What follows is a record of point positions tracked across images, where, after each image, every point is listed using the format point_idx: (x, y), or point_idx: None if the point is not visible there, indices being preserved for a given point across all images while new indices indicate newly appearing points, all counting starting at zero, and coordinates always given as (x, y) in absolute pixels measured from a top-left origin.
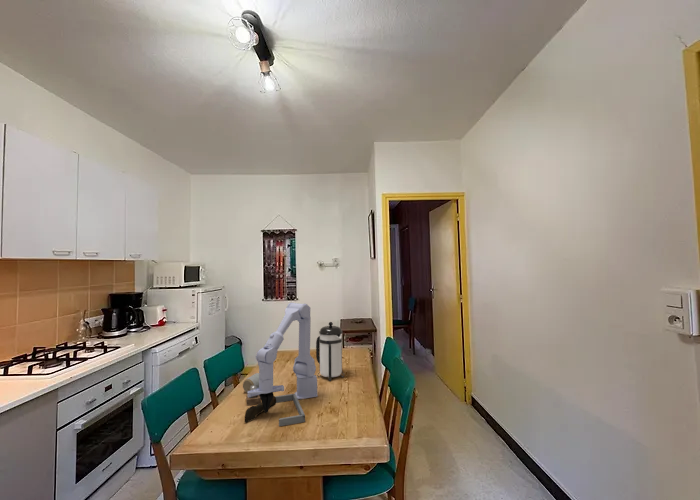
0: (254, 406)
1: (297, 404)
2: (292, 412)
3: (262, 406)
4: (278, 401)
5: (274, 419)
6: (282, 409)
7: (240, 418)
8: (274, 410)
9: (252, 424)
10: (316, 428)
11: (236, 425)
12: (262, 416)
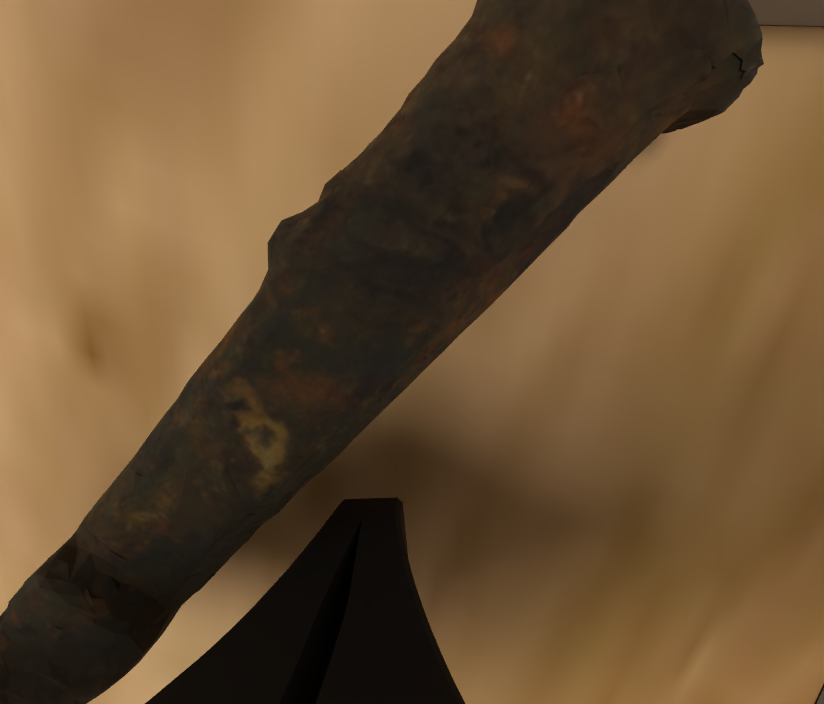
0: (90, 631)
1: None
2: (783, 571)
3: (299, 487)
4: (762, 17)
5: (475, 649)
6: (684, 414)
7: (9, 454)
8: (543, 397)
9: (198, 655)
10: None
11: (6, 608)
12: (327, 517)
